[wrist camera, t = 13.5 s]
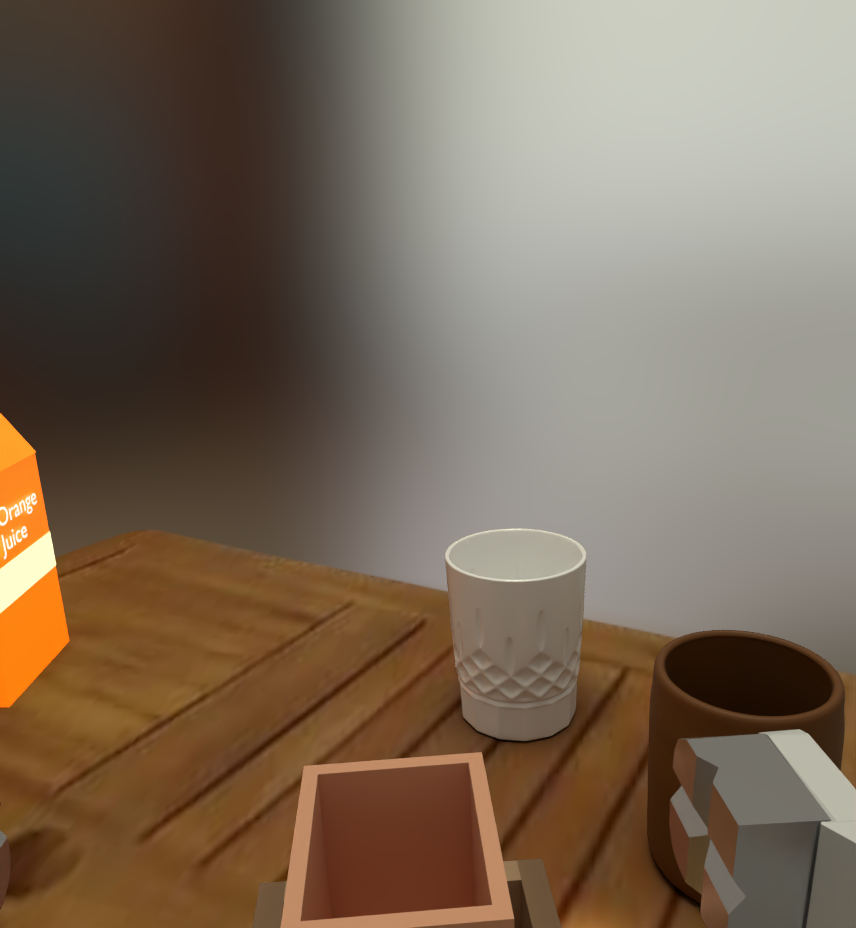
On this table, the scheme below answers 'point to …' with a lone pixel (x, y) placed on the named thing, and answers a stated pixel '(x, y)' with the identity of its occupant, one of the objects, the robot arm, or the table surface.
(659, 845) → the mug
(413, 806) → the pink square pot
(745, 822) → the robot arm
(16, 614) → the orange juice
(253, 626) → the table surface
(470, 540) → the white cup
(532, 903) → the large crate
